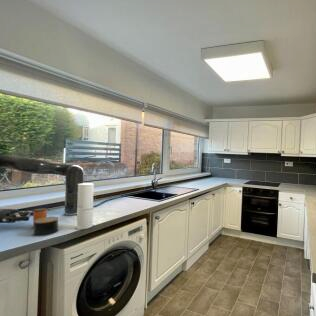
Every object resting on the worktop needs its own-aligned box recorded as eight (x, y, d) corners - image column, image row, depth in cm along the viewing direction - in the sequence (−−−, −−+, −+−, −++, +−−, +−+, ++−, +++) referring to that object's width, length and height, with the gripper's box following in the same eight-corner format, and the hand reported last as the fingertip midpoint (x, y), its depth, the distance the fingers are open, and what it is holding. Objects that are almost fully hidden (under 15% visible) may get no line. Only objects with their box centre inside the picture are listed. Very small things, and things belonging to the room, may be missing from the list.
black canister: (52, 227, 109) (52, 215, 109) (61, 231, 106) (61, 218, 106) (29, 233, 101) (30, 220, 101) (38, 237, 97) (39, 223, 97)
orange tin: (43, 224, 114) (44, 207, 113) (48, 226, 111) (49, 208, 111) (30, 227, 109) (31, 209, 108) (35, 229, 106) (36, 211, 106)
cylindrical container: (82, 224, 116) (83, 182, 116) (95, 224, 117) (96, 183, 116) (73, 229, 109) (74, 184, 109) (86, 229, 110) (88, 185, 109)
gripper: (-12, 212, 101) (23, 213, 103) (17, 205, 115) (47, 206, 117) (-12, 227, 101) (23, 227, 103) (16, 218, 115) (46, 218, 117)
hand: (35, 216), depth 110 cm, fingers open, 8 cm apart
